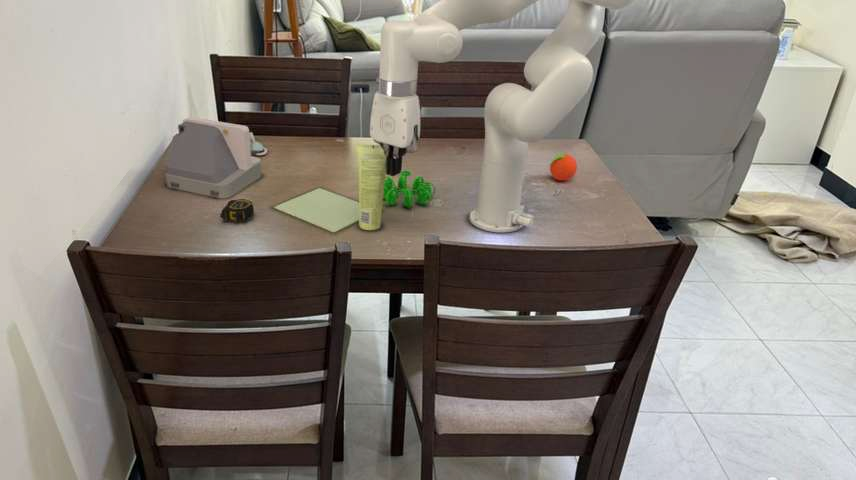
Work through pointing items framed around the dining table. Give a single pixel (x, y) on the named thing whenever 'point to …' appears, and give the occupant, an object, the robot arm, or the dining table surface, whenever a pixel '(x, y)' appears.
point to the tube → (370, 184)
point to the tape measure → (237, 210)
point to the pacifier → (256, 146)
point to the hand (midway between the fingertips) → (393, 173)
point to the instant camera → (211, 158)
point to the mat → (323, 209)
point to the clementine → (563, 167)
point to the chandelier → (407, 190)
